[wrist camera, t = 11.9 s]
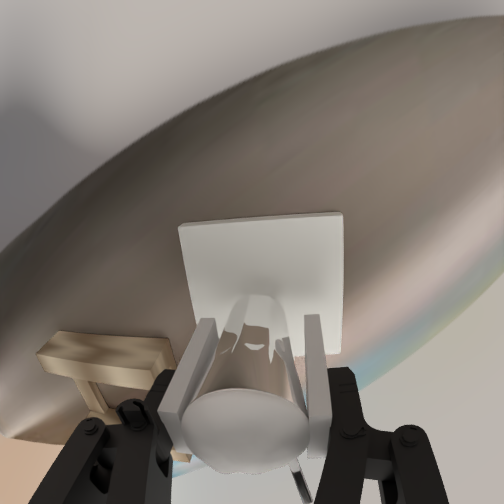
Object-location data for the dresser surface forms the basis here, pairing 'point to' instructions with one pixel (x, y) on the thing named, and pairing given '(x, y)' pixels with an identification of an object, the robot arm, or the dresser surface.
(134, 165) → the dresser surface
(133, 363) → the pocket holder
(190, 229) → the pad
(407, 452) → the robot arm
